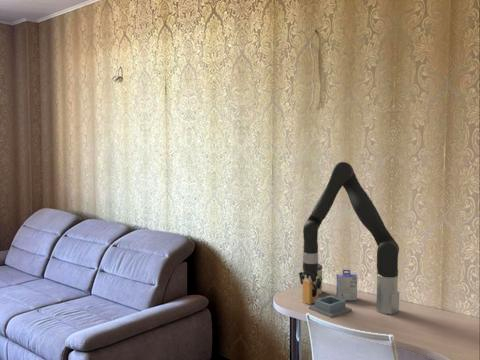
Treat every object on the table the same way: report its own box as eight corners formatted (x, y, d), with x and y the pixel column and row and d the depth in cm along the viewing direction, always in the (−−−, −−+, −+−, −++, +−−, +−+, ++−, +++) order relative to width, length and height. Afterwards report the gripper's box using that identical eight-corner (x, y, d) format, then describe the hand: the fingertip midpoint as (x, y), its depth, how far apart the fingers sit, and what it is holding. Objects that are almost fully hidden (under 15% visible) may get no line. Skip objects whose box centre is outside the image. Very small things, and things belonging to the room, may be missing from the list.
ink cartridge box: (355, 296, 234) (355, 269, 233) (357, 300, 228) (358, 272, 227) (335, 296, 234) (336, 269, 233) (337, 300, 229) (338, 272, 227)
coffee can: (304, 287, 248) (305, 262, 247) (323, 289, 245) (324, 264, 243) (300, 293, 239) (300, 267, 238) (319, 296, 235) (320, 269, 234)
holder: (351, 310, 215) (351, 301, 215) (331, 317, 207) (331, 308, 206) (328, 302, 226) (328, 293, 226) (308, 308, 218) (309, 299, 217)
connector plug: (317, 301, 227) (318, 277, 226) (309, 304, 223) (309, 280, 222) (311, 299, 230) (311, 275, 229) (302, 301, 226) (302, 277, 225)
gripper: (326, 262, 221) (326, 297, 223) (305, 257, 233) (305, 289, 234) (316, 265, 217) (315, 300, 218) (294, 259, 228) (294, 292, 230)
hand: (310, 294), depth 226 cm, fingers closed on connector plug, 4 cm apart
